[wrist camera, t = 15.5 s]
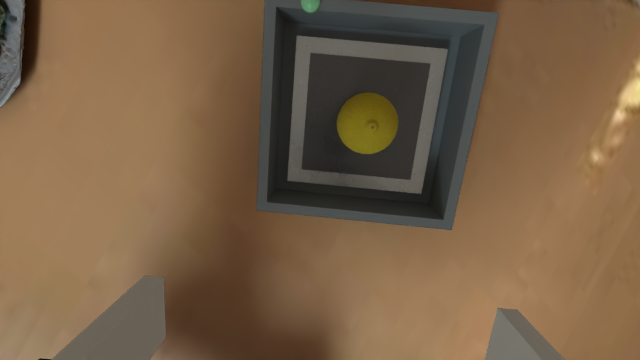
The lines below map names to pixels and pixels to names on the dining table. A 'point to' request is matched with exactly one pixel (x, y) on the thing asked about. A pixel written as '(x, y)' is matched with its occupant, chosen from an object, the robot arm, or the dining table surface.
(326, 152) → the gray picture frame
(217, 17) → the dining table surface
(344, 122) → the lemon
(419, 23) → the gray open box
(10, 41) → the food plate
